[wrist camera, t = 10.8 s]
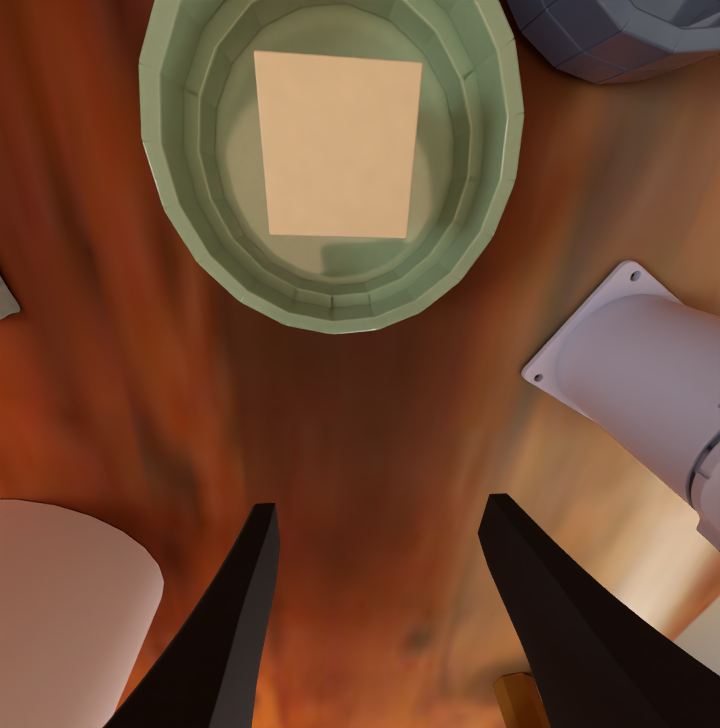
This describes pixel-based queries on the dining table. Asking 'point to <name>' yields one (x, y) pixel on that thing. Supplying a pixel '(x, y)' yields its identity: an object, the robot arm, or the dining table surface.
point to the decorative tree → (520, 702)
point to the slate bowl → (620, 35)
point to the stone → (7, 301)
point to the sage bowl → (245, 159)
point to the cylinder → (69, 615)
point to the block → (337, 143)
